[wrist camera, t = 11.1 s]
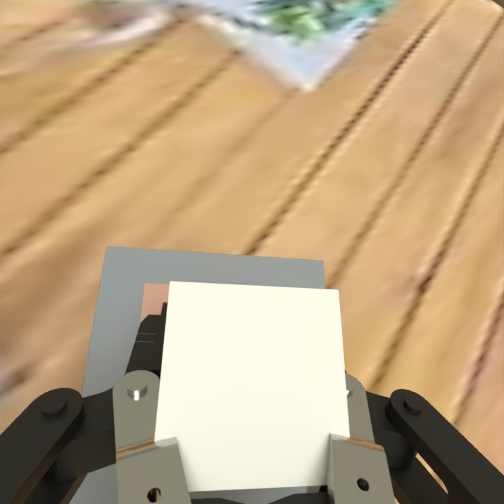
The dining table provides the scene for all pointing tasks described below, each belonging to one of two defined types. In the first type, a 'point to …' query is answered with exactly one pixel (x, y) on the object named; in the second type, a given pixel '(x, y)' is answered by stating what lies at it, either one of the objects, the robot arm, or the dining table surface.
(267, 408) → the tall brick
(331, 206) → the dining table surface
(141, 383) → the robot arm
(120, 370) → the tower base
